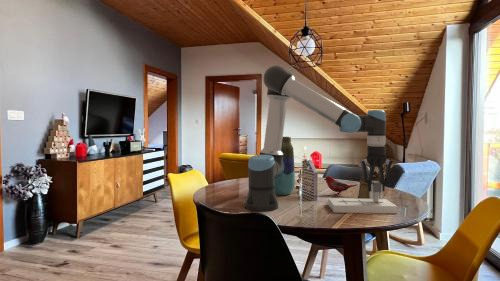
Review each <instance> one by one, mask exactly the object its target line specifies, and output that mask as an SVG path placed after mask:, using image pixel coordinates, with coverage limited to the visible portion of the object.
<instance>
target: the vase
mask: <svg viewBox="0 0 500 281" xmlns="http://www.w3.org/2000/svg"><path fill="white" fill-rule="evenodd" d="M291 139H292V138H291V136H283V138H282V146H281V151H282V153H283V163H284V170H283V172H282V174H281V175H280V176H279V177H278V178H276V179H274V191H275V194H276V196H288V195H291V194H292V193H293V191H294V189H295V185H296V172H295V154H294V147H293V145H292V140H291Z"/></svg>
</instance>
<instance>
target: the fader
mask: <svg viewBox="0 0 500 281" xmlns="http://www.w3.org/2000/svg"><path fill="white" fill-rule="evenodd" d="M371 184H373V192H374V197H373V201H374V202H378V199H379V192H381V182H379V181H372V183H371Z"/></svg>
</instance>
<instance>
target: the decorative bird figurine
mask: <svg viewBox="0 0 500 281" xmlns="http://www.w3.org/2000/svg"><path fill="white" fill-rule="evenodd" d="M323 180H324V181H325V182H326V184H327V186H328V188H329V189H330V190H331V191H333V192H334V193H333V195H335V196H337V195H338V196H340V195H341V193H342V192H345V191H347V190H348V189H350V188H353V187H356V186H358V184H347V183H344V182H342V181H339V180H336V179H334V177H332V176H330V175H328V176H327V175H326V177H325V178H324V179H323ZM335 192H336V193H335Z"/></svg>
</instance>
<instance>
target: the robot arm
mask: <svg viewBox="0 0 500 281" xmlns="http://www.w3.org/2000/svg"><path fill="white" fill-rule="evenodd" d="M262 79H263V83H264V85H265V87H266V88H267V91H266V92H267V93H266V97H267V98H268V100H269V102H268V110H267V117H266V118H267V119H266V126H265V134H264V142H263V143H264V144H263V148H261V150H260V151H259V154H256V155H252V156H250V157H249V158H248V164H247V167H248V172H247V173H248V191H247V195H246V197H245V198H246V199H245V202H244V208H245V207H246V208H247V209H246V208H245V209H246V210H248V209H251V210H250V211H253V210H255V211H254V212H269V211H270V212H271V211H273V210H274V211H275V210H278V209H279V201H278V198H277V194H275V191H274V179H276V178H278V177H279V176H280V175H281V174H282V172H283V170H284V163H283V153H282V151H281V146H282V138H283V137H284V128H285V121H286V112H287V107H288V101H289V100H291V99H293V100H294V101H296V102H297V103H299V104H301V105H302V106H304V107H305V108H307V109H309V110H310V111H312V112H314V113H315V114H317V115H319V116H321V117H322V118H324V119H326V120H328V121H329V122H331V123H332V124H334V125H336V126H337V127H338V128H339V132H341V133H349V134H352V133H367V137H366V139H367V142H366V143H367V147H366V152H367V153H366V156H365V157H366V158H364V159H361V160H360V161H359V162H360V164H361V169H362V170H361V172H362V177H363V182H365V183H367V184H368V186H367V187H368V188H367V190H368V191H370V199H373V184H371V183H372V178H373V176H374V173H375V171H374V170H375V168H377V170H378V171H379V177H380V182H381V192H378V199H381V200H382V199H383V193H385V191H386V187H385V186H386V184H389V183H390V180H391V179H390V178H391V177H390V176H391V170H392V169H391V168H392V167H391V166H392V164H393V160H390V159H387V156H386V154H387V153H386V148H387V147H386V146H385V145H386V144H387V143H386V142H387V140H386V139H387V138H386V136H387V135H386V133H387V129H386V128H387V118H386V117H387V116H386V114H387V113H386V112H385V110H382V109H376V110H375V109H374V110H368V111H367V113H366V114H364V115H363V114H362V115H360V114H358V115H357V114H356V113H353V112H351V111H350V110H348V109H346V108H345V107H343V106H341V105H340V104H338V103H336V102H334V101H333V100H331V99H329V98H327V97H326V96H324V95H322V94H320V93H319V92H317V91H316V90H313V89H312V88H310V87H309V86H307V85H306V84H304V83H302V82H300V81H298V80H297V79H296V78H295V76H294V75H293V74H292V73H291V72H290V71H289V70H287V69H286V68H284V67H283V66H281V65H272V66H270V67H268V68H267V69H266V70H265V72H264V74H263V78H262ZM367 164H369V170H367ZM384 165H386V168H385V170H384V171H385V174H384V171H383V166H384ZM367 177H368V180H367Z"/></svg>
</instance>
